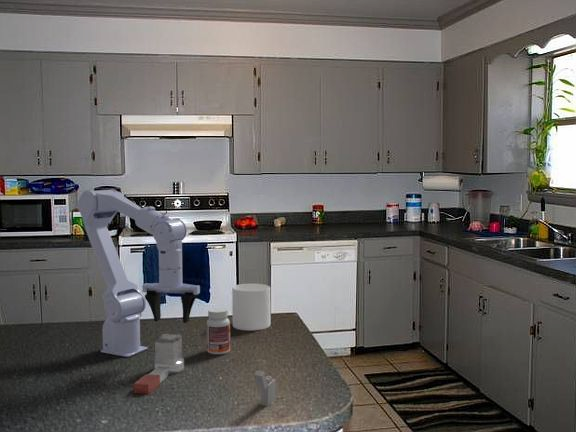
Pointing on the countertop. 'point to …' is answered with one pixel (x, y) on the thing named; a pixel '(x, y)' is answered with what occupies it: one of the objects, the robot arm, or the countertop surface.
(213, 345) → the pill bottle
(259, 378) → the lighter
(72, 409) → the countertop surface
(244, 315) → the white cylinder
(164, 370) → the ratchet
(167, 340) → the grey block
